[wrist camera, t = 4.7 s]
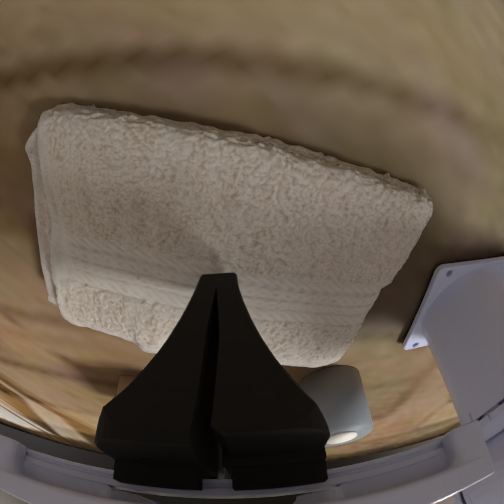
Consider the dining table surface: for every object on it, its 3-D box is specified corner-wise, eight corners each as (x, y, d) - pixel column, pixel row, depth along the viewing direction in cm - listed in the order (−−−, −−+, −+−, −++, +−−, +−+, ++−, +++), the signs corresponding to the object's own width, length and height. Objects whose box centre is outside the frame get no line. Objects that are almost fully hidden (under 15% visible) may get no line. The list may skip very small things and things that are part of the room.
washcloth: (49, 96, 10) (7, 114, 7) (426, 178, 13) (460, 210, 11) (63, 293, 17) (46, 331, 14) (335, 336, 20) (345, 374, 18)
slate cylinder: (365, 361, 22) (382, 420, 18) (351, 390, 25) (363, 442, 21) (302, 369, 22) (312, 433, 17) (296, 398, 25) (304, 452, 21)
